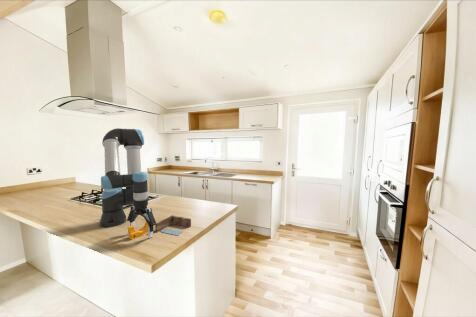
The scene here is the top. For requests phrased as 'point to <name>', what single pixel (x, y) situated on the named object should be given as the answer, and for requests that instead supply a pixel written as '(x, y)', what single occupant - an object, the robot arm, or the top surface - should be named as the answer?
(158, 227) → the brown wooden corner wall
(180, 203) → the top surface
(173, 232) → the pad
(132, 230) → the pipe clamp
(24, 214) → the top surface
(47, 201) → the top surface
